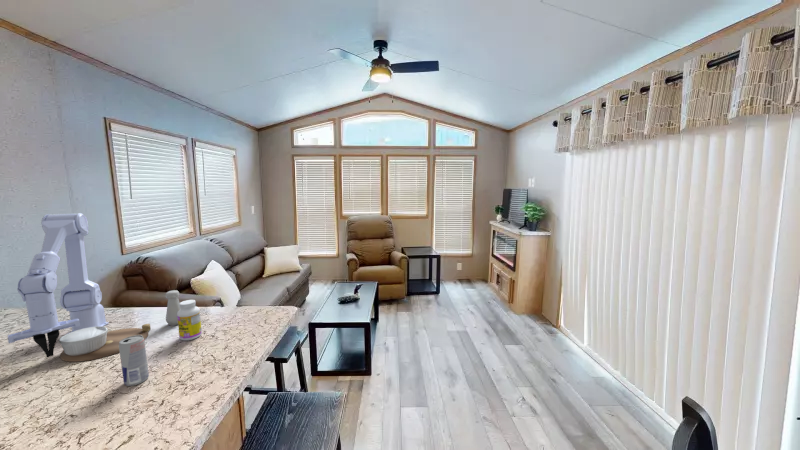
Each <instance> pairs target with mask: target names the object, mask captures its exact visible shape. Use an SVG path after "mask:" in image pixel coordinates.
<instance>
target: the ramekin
mask: <svg viewBox="0 0 800 450" xmlns="http://www.w3.org/2000/svg"><path fill="white" fill-rule="evenodd" d="M70 332H71V331H70ZM107 332H109V329H108V327H106V326H103V327H102V326H97V327H89V328H84V329H80V330H77V331H74V332H71V333H69V332H67V333H66V334H64V335H63V336H61V337H60V338H58V342H59V344H60V345H61V348H62V351H63V350H64V352H65V353H66V354H67V355H71V356H76V355H83V354H87V353H90V352H93V351H95V350H98V349H100V348H101V347H103V346H104V344H105V343H106V338H107Z"/></svg>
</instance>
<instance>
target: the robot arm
mask: <svg viewBox="0 0 800 450" xmlns="http://www.w3.org/2000/svg"><path fill="white" fill-rule="evenodd" d="M40 221H41V222H40V223H41V224H40V225H41V228H42V230H43V232H44V239H43V242H42V245H41V246H42V247H41V250H40V252H39V253H36V254H35V255H34V256H33V258H32V261H31V263H30V266H29V268H28V270H27V274H26V275H25V276H24V277H21V278H20V279H19V280H18V283H17V293H18V295H20V296H21V299H22V301H23V302H25V305H26V310H27V311H26V312H27V317H28V323H29V328H28V329H25V330H22V331H18V332H15V333H12V334H8V335H7V342H8V344H13V343H15V342H18V341H21V340H22V341H23V340H26V339H29V338H33V342H35V343H36V345H38V346H39V347H40V348H41V349H42V351H43V352H44V354H45V356H46V358H49V357H53V356H54V350H55V346H56V343H57V340H59V337H60V334H61V333H60V331H61V330H62V331H63V330H65V329H69V328H71V331H70V332H68V333H71V332H74V331H77V330H80V329H84V328H89V327H97V326H102V327H106V325H108V324H109V321H107V319H106V314H105V308H104V306H103V304H101V302H102V300H103V293H102V291H101V288H100V284H98V283H96V282H94V281H91V280H90V279H89V275H88V274H89V273H88V266H87V255H86V246H85V237H86V236H88V235H89V231H90V230H89V223H88V217H86V215H85V214H83V213H82V212H78V213H55V214H53V213H52V214H51V213H47V214H44V216H43V217H42V218H41V220H40ZM63 243H64V247H65V256H66V265H67V274H68V275H67V276H68V283H67V285H65V286H64V287H63V288H61V290H60V297H59V304H60V307H62V309H64V310H66V312H69V319H68V320H61V321H59V318H58V311H57V304H56V299H55V298H56V297H55V293H54V292H55V290H56V289H57V286H58V274H57V270H58V267H59V264H60V262H61V257H60V256H59V255H58V254H59V251H60V249H61V248H62V245H63ZM46 335H47V336H46Z"/></svg>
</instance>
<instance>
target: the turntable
mask: <svg viewBox="0 0 800 450" xmlns="http://www.w3.org/2000/svg"><path fill="white" fill-rule="evenodd" d="M150 331H151V324H150V323H144V324H142V325H141V327H130V328H119V329H113V330H110V331H109V330H108V332H107V338H106V343H105V344H104V346H103V347H101V348H100V349H98V350H95V351H93V352H90V353H87V354H83V355H76V356H71V355H67V354H66V353H65V352H64V350H63V349H62V351H61V352H60V354H59V357H60V360H62V361H64V362H71V363H73V362H75V363H77V362H79V363H80V362H87V361H94V360H99V359H102V358H107V357H111V356H113V355H117V354H120V351H119V342H120V341H121V340H122V339H124V338H127V337H130V336H135V335H142V336H143V338H144V340H147V338H148V336H149V332H150Z"/></svg>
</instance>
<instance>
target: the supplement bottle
mask: <svg viewBox="0 0 800 450" xmlns="http://www.w3.org/2000/svg"><path fill="white" fill-rule="evenodd" d="M179 302H180V304H179V305H180V308H181V309H180V310H179V311H178V312H177V318H178V325H177V326H178V336H179V339H180V340H181V341H185V342H186V341H192V340H195V339H197V338H199V337H201V336H202V333H203V332H202V321H201V311H200V310H201V309H200V308H199V307H198V306H197V305H196V300H195V299H186V300H183V301H179Z"/></svg>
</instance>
